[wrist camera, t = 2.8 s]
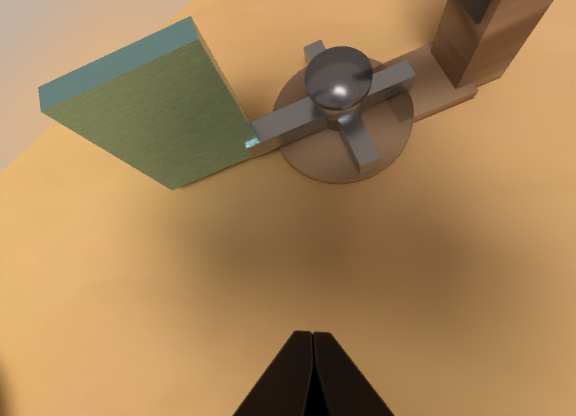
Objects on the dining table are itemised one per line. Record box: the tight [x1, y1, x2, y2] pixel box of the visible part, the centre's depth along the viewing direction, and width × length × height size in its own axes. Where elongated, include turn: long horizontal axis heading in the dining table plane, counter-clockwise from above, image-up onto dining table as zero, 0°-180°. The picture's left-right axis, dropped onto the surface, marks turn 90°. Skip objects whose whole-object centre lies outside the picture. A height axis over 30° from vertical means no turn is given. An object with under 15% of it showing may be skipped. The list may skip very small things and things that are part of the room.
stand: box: [273, 0, 553, 184], centre depth 16 cm, size 9×15×10 cm, turn 110°
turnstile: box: [38, 16, 416, 190], centre depth 16 cm, size 9×16×9 cm, turn 110°
